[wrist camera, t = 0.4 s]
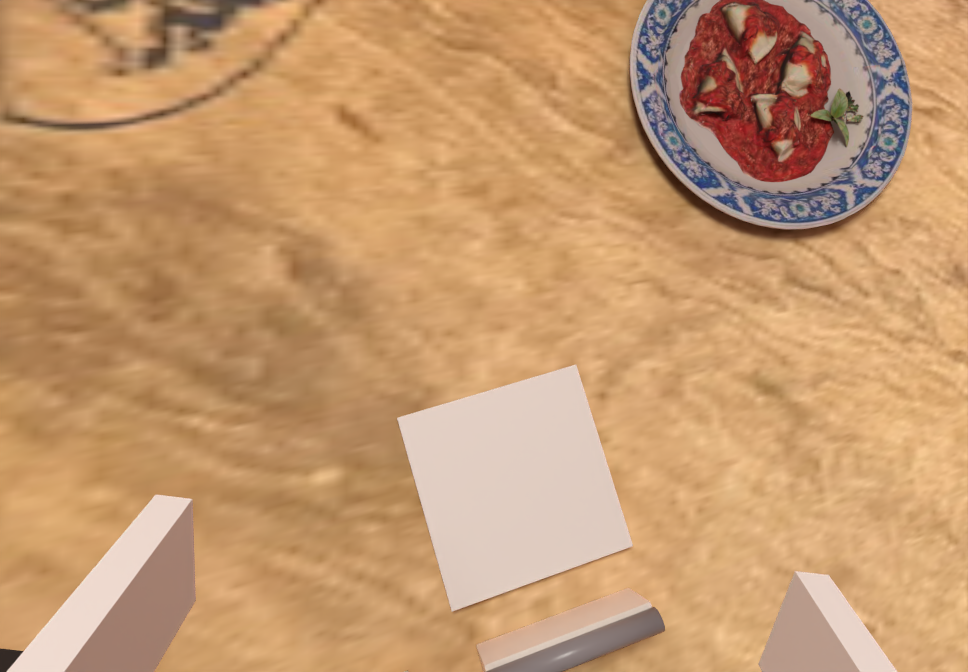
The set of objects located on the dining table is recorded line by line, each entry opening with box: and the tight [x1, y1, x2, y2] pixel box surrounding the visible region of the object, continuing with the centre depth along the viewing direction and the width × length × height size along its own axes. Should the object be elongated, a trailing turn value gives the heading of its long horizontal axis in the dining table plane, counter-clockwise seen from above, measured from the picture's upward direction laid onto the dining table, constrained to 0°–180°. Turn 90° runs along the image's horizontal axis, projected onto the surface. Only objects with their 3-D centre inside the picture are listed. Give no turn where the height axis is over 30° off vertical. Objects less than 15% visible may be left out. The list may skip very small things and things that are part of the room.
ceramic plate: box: [630, 0, 912, 229], centre depth 54 cm, size 26×26×3 cm
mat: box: [397, 365, 633, 611], centre depth 46 cm, size 14×14×1 cm
